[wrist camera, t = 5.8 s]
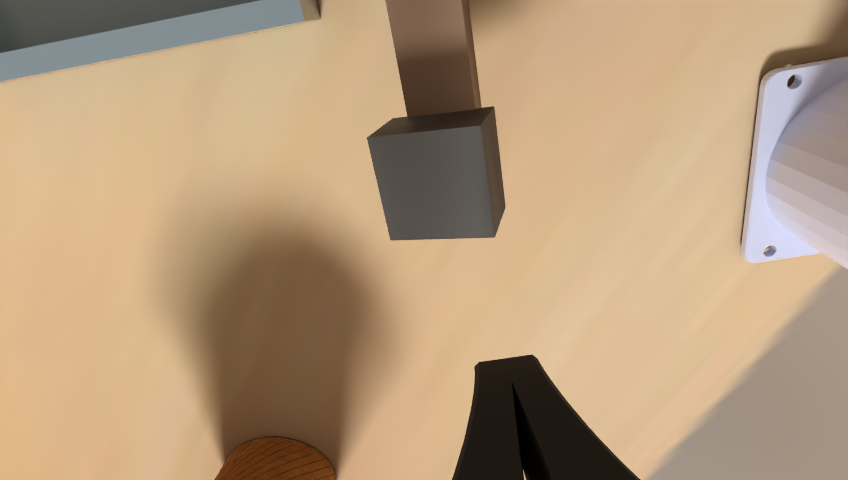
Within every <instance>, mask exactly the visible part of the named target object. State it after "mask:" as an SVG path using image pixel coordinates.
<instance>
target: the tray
mask: <svg viewBox="0 0 848 480" xmlns="http://www.w3.org/2000/svg"><path fill="white" fill-rule="evenodd" d="M314 20H320V15H319V11H318V7H317V3H316V0H0V83H1V82H6V81H11V80H16V79H21V78H26V77H31V76H36V75H41V74H47V73H52V72H57V71H62V70H67V69H72V68H77V67H82V66H87V65H92V64H97V63H102V62H107V61H112V60H117V59H122V58H127V57H132V56H138V55H143V54H148V53H153V52H158V51H163V50H168V49H173V48H178V47H183V46H188V45H193V44H198V43H203V42H208V41H213V40H218V39H223V38H229V37H234V36H239V35H244V34H249V33H254V32H259V31H264V30H269V29H274V28H279V27H284V26H289V25H294V24H299V23H304V22H309V21H314Z"/></svg>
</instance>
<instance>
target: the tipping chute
mask: <svg viewBox="0 0 848 480" xmlns="http://www.w3.org/2000/svg"><path fill="white" fill-rule="evenodd" d="M386 5H387V10H388V16H389V21H390V26H391V32H392V37H393V42H394V47H395V53H396V58H397V63H398V68H399V74H400V79H401V84H402V90H403V95H404V100H405V105H406V111H407V116H408V117H401V118H393V119H392V120H390V121H389V122H387V123H386V124H385V125H383V126H382V127H381V128H379V129H378V130H377V131H375V132H374V133H373V134H371V135H370V136H369V137H367V140H368V144H369V148H370V153H371V157H372V162H373V166H374V170H375V175H376V179H377V183H378V188H379V192H380V196H381V201H382V205H383V209H384V214H385V218H386V223H387V227H388V231H389V236H390V240H420V239H455V238H490V237H495V235H496V232H497V230H498V227H499V224H500V221H501V218H502V215H503V213H504V210H505V198H504V190H503V181H502V172H501V163H500V154H499V145H498V136H497V127H496V118H495V110H494V106H493V107H485V108H481V100H480V92H479V83H478V75H477V67H476V59H475V51H474V43H473V35H472V27H471V19H470V11H469V3H468V0H386Z"/></svg>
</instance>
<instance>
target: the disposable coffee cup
mask: <svg viewBox="0 0 848 480" xmlns="http://www.w3.org/2000/svg"><path fill="white" fill-rule="evenodd" d="M215 480H336V476H335V472H334V469H333V467H332V466H331V464H330V462H329V461H328V460H327V459H326V458H325V457H324V456H323V455H322V454H321V453H320V452H318V451H317V450H316V449H314V448H312V447H310V446H308V445H306V444H304V443H301V442H298V441H295V440H290V439H285V438H272V437H269V438H260V439H256V440H252V441H249V442H246V443H244V444H242V445H241V446H239V447H238V448H236V449H235V450H234V451H233V452H232V453H231V454H230V455H229V457H228V458H227V460H226V462H225V464H224V465H223V467H222V468H221V470H220V472H219V474H218V475H217V477H216V478H215Z"/></svg>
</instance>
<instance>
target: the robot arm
mask: <svg viewBox="0 0 848 480" xmlns="http://www.w3.org/2000/svg"><path fill="white" fill-rule="evenodd" d="M792 75H795V80H794V83H793V84H792V85H791V86H789V87H787V82H788V79H789V78H790V77H791V76H792ZM769 246H770V249H769V250H768V251H766V252H764V250H765V249H766V248H767V247H769ZM763 252H764V253H763ZM819 253H823V254H824V255H826V256H828V257H829V258H831V259H832V260H834V261H836V262H837V263H839V264H840V265H842V266H844V267H845V268H847V269H848V56H846V57H840V58H834V59H829V60H823V61H817V62H812V63H806V64H800V65H794V66H789V67H783V68H777V69H774V70H771V71H769V72H768V73H767V74H766V75H765V76H764V77H763V79H762V81H761V84H760V90H759V99H758V107H757V116H756V124H755V133H754V142H753V150H752V159H751V167H750V176H749V184H748V193H747V201H746V210H745V219H744V227H743V236H742V244H741V255H742V257H743V258H744V259H745V260H747V261H748V262H751V263H758V262H764V261H771V260H778V259H785V258H792V257H799V256H805V255H812V254H819ZM523 470H524V474H525V477H526V480H640V479H639V478H638V477H637V476H636V475H635V474H634V473H633V472H632V471H631V470H630V469H628V468H627V467H626V466H625V465H624V464H623V463H622V462H621V461H620V460H619V459H618V458H617V457H616V456H615V455H614V454H613V453H612V451H611V450H610V449H609V448H608V447H607V446H606V445H605V444H604V443H603V442H602V441H601V440H600V439H599V438H598V437H597V436H596V435H595V433H594V432H593V431H592V430H591V429H590V428H589V427H588V426H587V424H586V423H585V422H584V421H583V420H582V419H581V417H580V416H579V415H578V414H577V413H576V411H575V410H574V409H573V408H572V407H571V406H570V404H569V403H568V402H567V401H566V399H565V398H564V397H563V395H562V394H561V393H560V392H559V390H558V389H557V388H556V386H555V385H554V384H553V382H552V381H551V379H550V378H549V376H548V375H547V374H546V372H545V371H544V369H543V367H542V366H541V364H540V363H539V361H538V359H537V358H536V357H535V356H533V355H526V356H519V357H512V358H505V359H498V360H491V361H484V362H479V363H478V364H477V365H476V366H475V384H474V394H473V400H472V407H471V412H470V416H469V421H468V425H467V430H466V435H465V438H464V442H463V446H462V449H461V452H460V456H459V459H458V463H457V466H456V469H455V472H454V476H453V478H452V480H524V475H523Z"/></svg>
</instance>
